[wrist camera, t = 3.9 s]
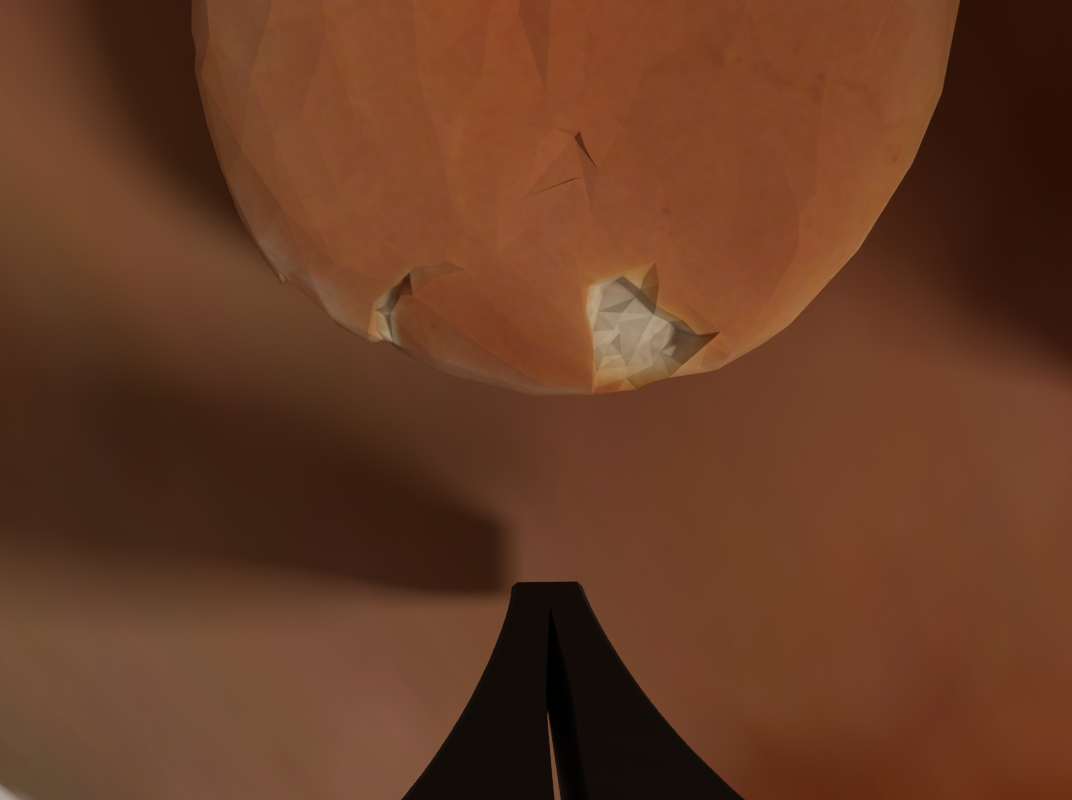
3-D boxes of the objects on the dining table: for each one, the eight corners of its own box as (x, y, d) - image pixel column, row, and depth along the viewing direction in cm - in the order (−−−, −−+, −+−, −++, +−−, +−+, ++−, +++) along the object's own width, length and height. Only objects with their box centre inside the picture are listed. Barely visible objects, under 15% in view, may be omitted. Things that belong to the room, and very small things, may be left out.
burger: (711, -513, 8) (924, -1186, 4) (932, 156, 12) (1178, 178, 7) (130, -43, 10) (-151, -163, 6) (466, 423, 13) (444, 566, 9)
